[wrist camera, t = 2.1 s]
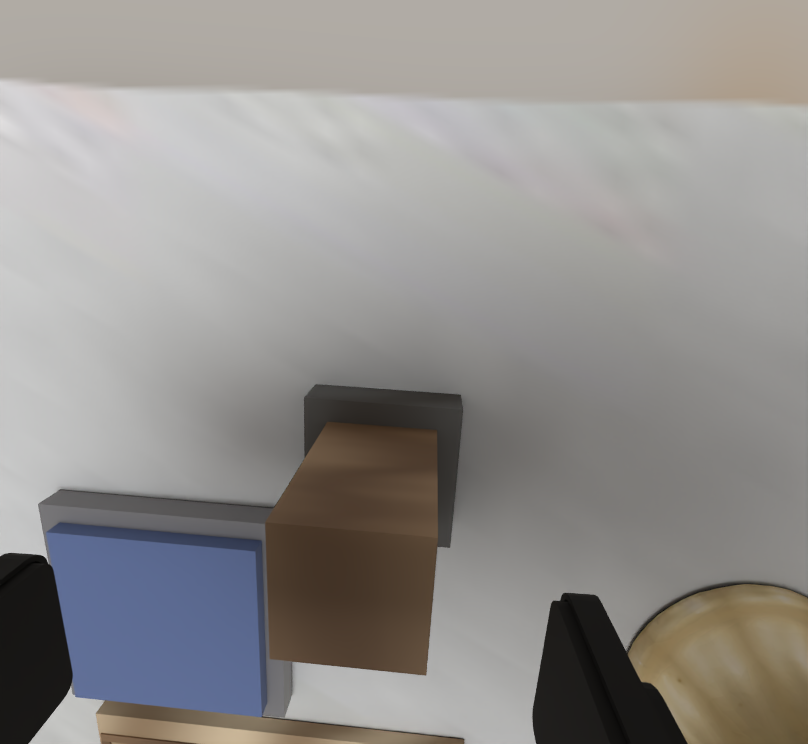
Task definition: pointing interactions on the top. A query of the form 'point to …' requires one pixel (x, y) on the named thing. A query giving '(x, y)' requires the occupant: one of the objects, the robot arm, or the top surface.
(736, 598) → the hand bell
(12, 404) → the top surface
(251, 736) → the board
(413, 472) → the stamp
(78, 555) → the ink pad
